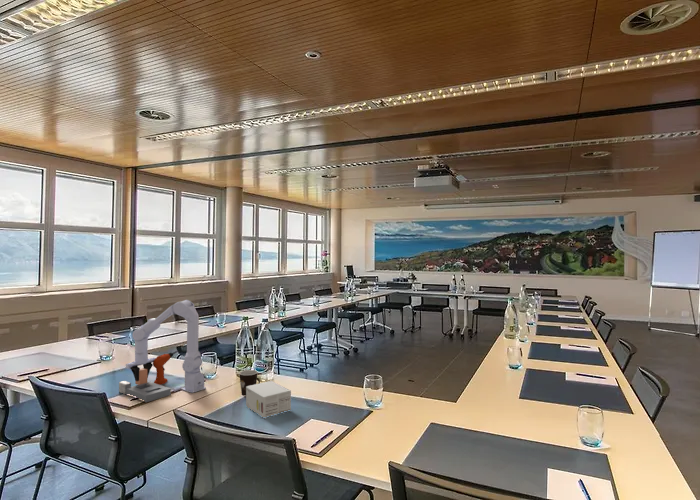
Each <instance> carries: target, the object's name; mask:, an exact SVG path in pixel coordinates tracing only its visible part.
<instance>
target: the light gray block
mask: <svg viewBox="0 0 700 500" xmlns="http://www.w3.org/2000/svg"><path fill="white" fill-rule="evenodd" d="M129 387H132V383H131V382H129V381H127V380H122V381H119V382H118V393H121V394H122V393H123V395H125V394H126V388H129Z"/></svg>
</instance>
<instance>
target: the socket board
mask: <svg viewBox="0 0 700 500" xmlns="http://www.w3.org/2000/svg"><path fill="white" fill-rule="evenodd" d="M126 394H130V395H133V396H136V397H138V398H140V399H142V400H144V401H145V402H144V401H143V402H144V403H148V402H153V401H155V400H158V399H162V398H165V397H169V396H171V395H172V389H171V388H170V387H168V386H164V385H163V384H162V385H159V384H156V383H154V381H148V382H147V383H143V384H140V385H137V384H135V385H133V386H132V385H131V387H129V388H126Z"/></svg>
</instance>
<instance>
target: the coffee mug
mask: <svg viewBox="0 0 700 500" xmlns="http://www.w3.org/2000/svg"><path fill="white" fill-rule="evenodd" d="M258 372H259V371H257V370H255V369H245V370H242V371H240V372H239V375H238V376H239V383H240V390H241V392H240V393H241V395H242V396H244V395H246V386H250V385H255V384H259V383H261V380H260V379H259V377H258V374H259V373H258ZM257 380H258V383H257Z"/></svg>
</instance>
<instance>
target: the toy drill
mask: <svg viewBox="0 0 700 500" xmlns="http://www.w3.org/2000/svg"><path fill="white" fill-rule="evenodd" d="M178 352H179V351H178V350H175V351H174V352H169V353H164V354H161V355H158V356H156V357H155V358H156V359H155V360H154V361H153V362H152V364H153V366H152V367H154V368H155V370H156V377H155V380H154V381H153V383H156V384H159V385H162V386H163V385H165V384H167V383H168V381H169V379H168V378H165V370H166V369H165V367H164V366H165V365H166V363H167V362H169V361H170V359H171V358H172V357H173V356H174V355H176V354H177V353H178Z"/></svg>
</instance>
